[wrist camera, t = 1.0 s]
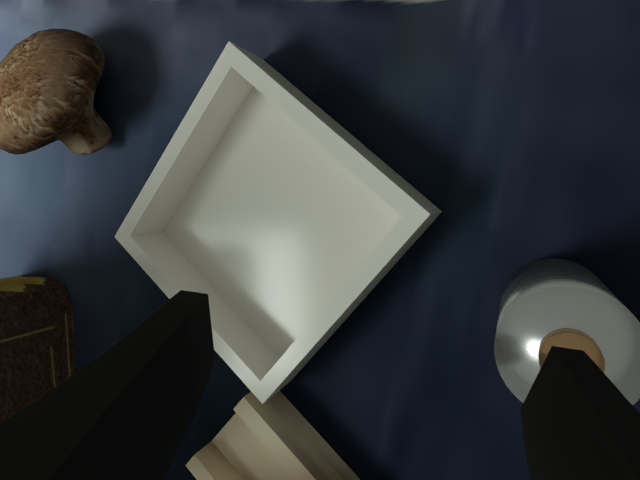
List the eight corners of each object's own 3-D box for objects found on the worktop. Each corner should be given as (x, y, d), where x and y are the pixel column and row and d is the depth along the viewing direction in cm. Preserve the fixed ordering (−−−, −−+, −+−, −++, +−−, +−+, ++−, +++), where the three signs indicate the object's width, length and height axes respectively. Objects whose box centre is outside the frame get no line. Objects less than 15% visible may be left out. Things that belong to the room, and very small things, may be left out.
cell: (633, 306, 18) (700, 369, 11) (555, 371, 19) (575, 461, 12) (549, 237, 19) (566, 260, 12) (481, 304, 20) (464, 356, 13)
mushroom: (92, 191, 24) (-35, 117, 20) (53, 185, 30) (-53, 126, 26) (166, 76, 26) (63, -13, 22) (116, 91, 32) (26, 22, 28)
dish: (442, 211, 20) (430, 214, 17) (291, 380, 24) (262, 404, 21) (262, 59, 23) (228, 41, 20) (155, 232, 27) (114, 236, 24)
